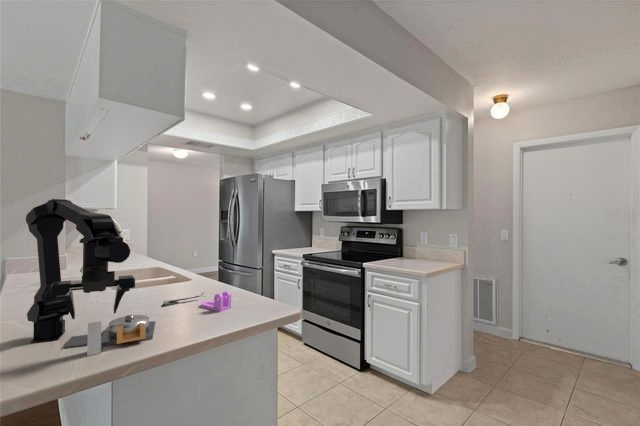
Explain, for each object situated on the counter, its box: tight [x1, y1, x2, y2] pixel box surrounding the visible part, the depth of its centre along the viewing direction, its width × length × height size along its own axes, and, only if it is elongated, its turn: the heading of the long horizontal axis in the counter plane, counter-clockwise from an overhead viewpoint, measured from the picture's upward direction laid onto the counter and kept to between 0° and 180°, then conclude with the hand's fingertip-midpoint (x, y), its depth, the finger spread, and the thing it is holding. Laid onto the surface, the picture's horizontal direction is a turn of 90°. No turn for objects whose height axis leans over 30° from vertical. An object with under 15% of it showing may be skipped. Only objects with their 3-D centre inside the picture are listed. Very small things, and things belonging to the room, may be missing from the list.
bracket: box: [200, 290, 232, 313], centre depth 128 cm, size 13×6×7 cm, turn 61°
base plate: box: [101, 320, 156, 347], centre depth 99 cm, size 14×14×1 cm
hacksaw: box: [161, 292, 209, 308], centre depth 139 cm, size 24×10×2 cm, turn 135°
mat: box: [62, 332, 104, 350], centre depth 93 cm, size 8×8×1 cm
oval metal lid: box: [108, 314, 150, 345], centre depth 97 cm, size 16×11×4 cm
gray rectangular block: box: [87, 320, 102, 357], centre depth 86 cm, size 3×3×8 cm
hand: (94, 315), depth 86 cm, fingers open, 9 cm apart
